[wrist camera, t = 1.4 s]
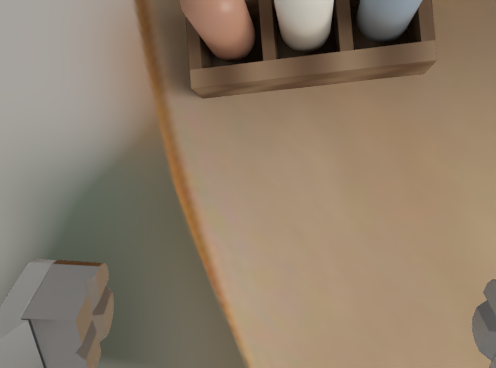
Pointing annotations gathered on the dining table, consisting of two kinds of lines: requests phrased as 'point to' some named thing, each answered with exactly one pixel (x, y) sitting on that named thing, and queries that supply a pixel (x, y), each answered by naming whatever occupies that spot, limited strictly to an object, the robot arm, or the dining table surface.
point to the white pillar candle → (304, 23)
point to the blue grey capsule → (385, 18)
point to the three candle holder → (312, 56)
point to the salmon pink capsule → (222, 26)
